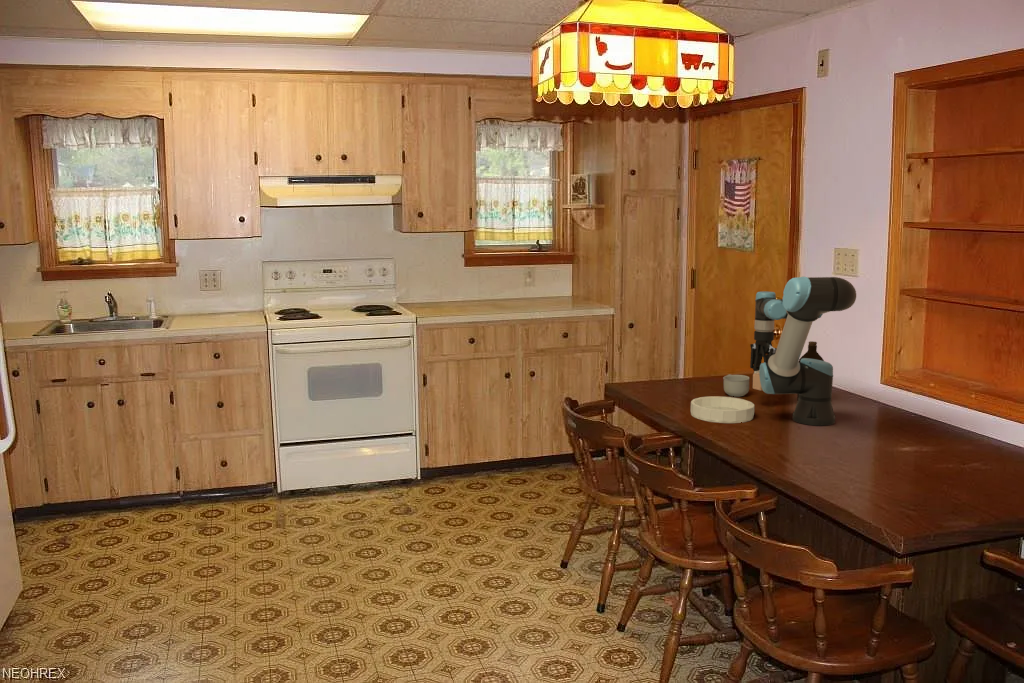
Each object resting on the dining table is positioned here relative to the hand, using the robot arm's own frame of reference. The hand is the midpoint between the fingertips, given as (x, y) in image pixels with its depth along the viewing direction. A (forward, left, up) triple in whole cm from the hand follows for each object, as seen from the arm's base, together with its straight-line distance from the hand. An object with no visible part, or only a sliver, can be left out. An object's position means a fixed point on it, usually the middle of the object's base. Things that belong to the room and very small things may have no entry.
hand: (761, 388), depth 349 cm
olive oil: (-1, -24, -8) cm, 25 cm away
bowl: (-6, +23, -8) cm, 25 cm away
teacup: (+22, -4, -8) cm, 24 cm away
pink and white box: (0, 0, 0) cm, 0 cm away
